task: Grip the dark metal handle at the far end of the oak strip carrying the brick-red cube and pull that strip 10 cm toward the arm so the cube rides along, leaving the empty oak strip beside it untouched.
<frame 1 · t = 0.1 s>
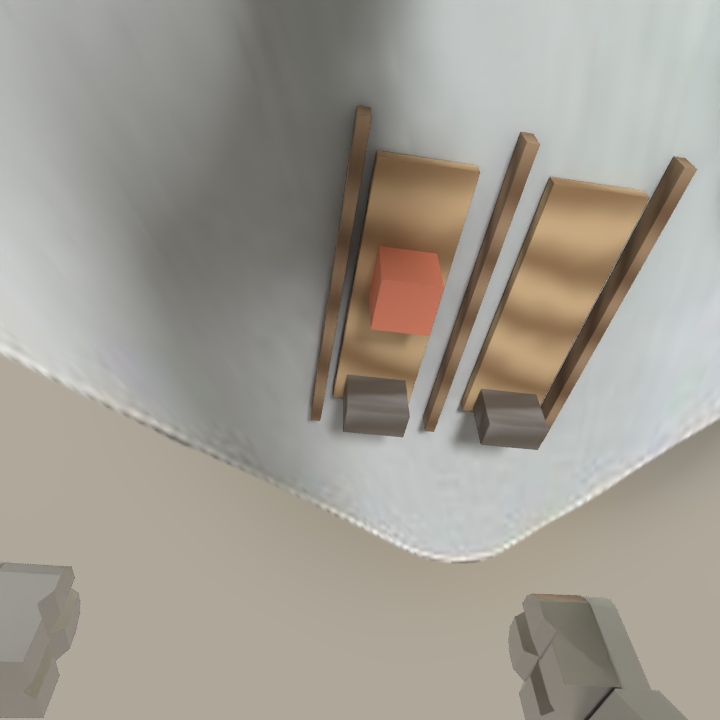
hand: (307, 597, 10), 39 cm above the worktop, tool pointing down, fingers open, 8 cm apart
strip a: (396, 314, 51), point 3 cm above the worktop, slide at 0.0 cm, touching cube
strip b: (547, 332, 53), point 3 cm above the worktop, slide at 0.0 cm
lane rails: (467, 302, 54), on the worktop
cube: (402, 274, 50), point 1 cm above the worktop, touching strip a
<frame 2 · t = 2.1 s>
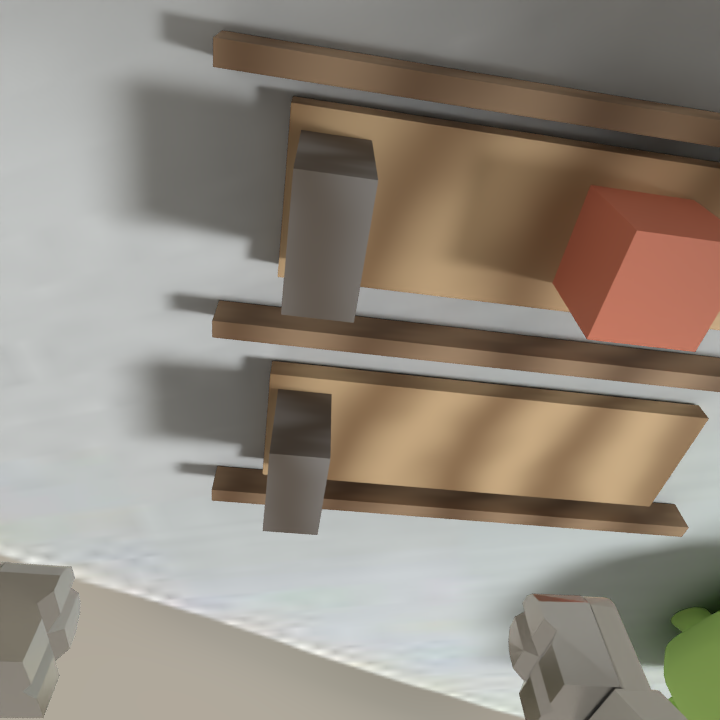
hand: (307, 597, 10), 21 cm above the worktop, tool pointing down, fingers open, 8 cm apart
strip a: (573, 252, 26), point 3 cm above the worktop, slide at 0.0 cm, touching cube
strip b: (486, 470, 34), point 3 cm above the worktop, slide at 0.0 cm
lane rails: (509, 341, 32), on the worktop
cube: (620, 243, 28), point 1 cm above the worktop, touching strip a
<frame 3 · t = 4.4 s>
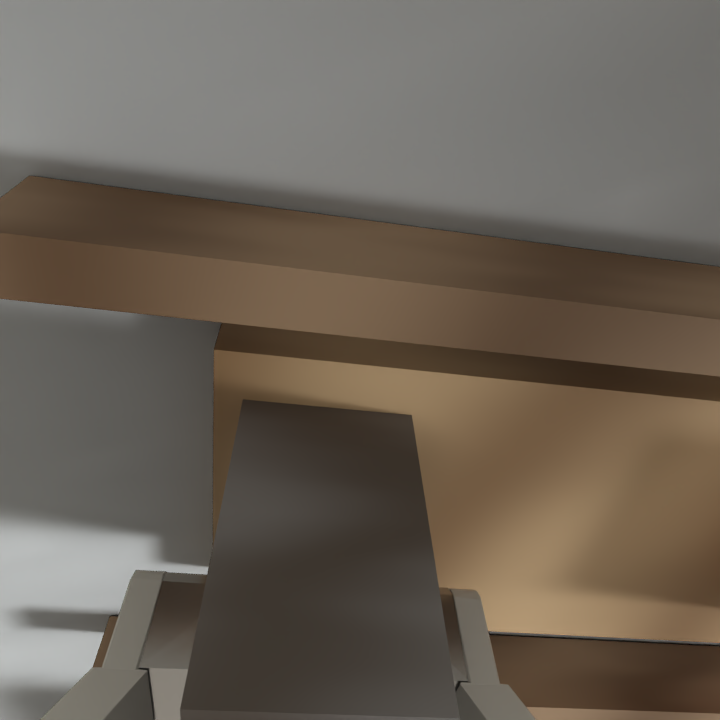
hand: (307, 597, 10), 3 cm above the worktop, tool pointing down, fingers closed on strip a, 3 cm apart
lane rails: (635, 650, 18), on the worktop
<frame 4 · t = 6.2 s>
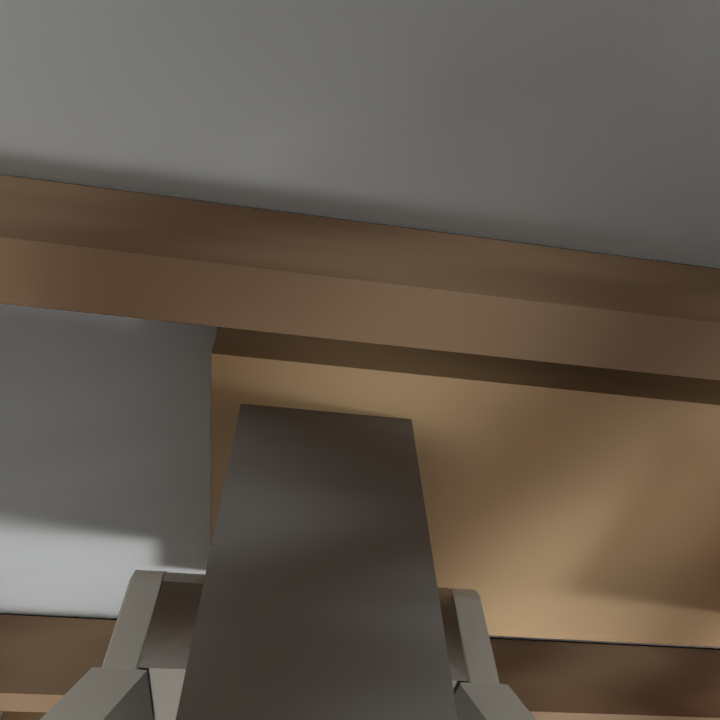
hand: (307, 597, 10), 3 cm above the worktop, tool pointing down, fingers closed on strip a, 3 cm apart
lane rails: (452, 645, 18), on the worktop
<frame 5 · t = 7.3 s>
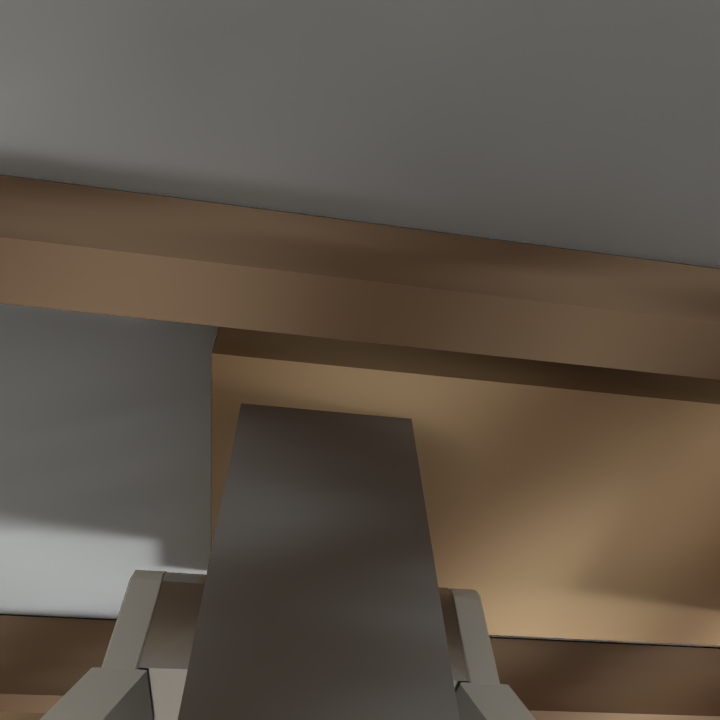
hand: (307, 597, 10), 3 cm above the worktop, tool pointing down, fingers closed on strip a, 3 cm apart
lane rails: (318, 639, 17), on the worktop
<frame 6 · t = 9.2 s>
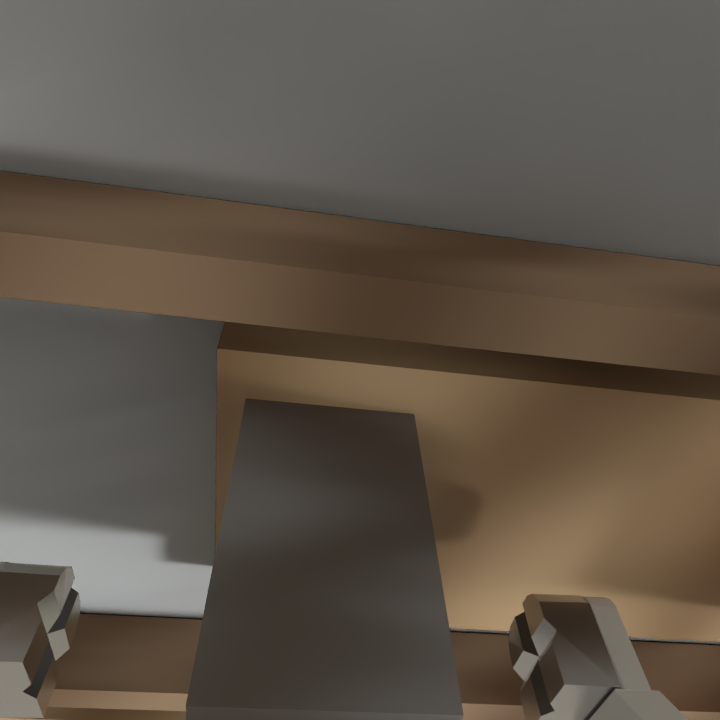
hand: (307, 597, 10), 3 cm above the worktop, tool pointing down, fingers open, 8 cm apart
lane rails: (320, 634, 17), on the worktop
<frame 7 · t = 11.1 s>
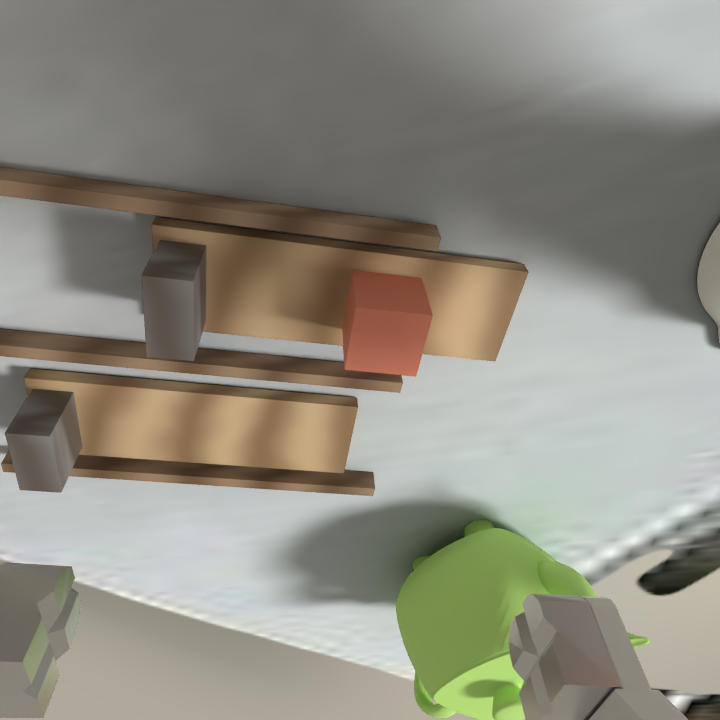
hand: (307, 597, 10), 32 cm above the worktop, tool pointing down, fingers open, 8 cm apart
strip a: (341, 313, 40), point 3 cm above the worktop, slide at 10.1 cm, touching cube
strip b: (193, 445, 47), point 3 cm above the worktop, slide at 0.0 cm
lane rails: (200, 353, 46), on the worktop
teapot: (501, 561, 65), on the worktop
cube: (381, 304, 42), point 1 cm above the worktop, touching strip a
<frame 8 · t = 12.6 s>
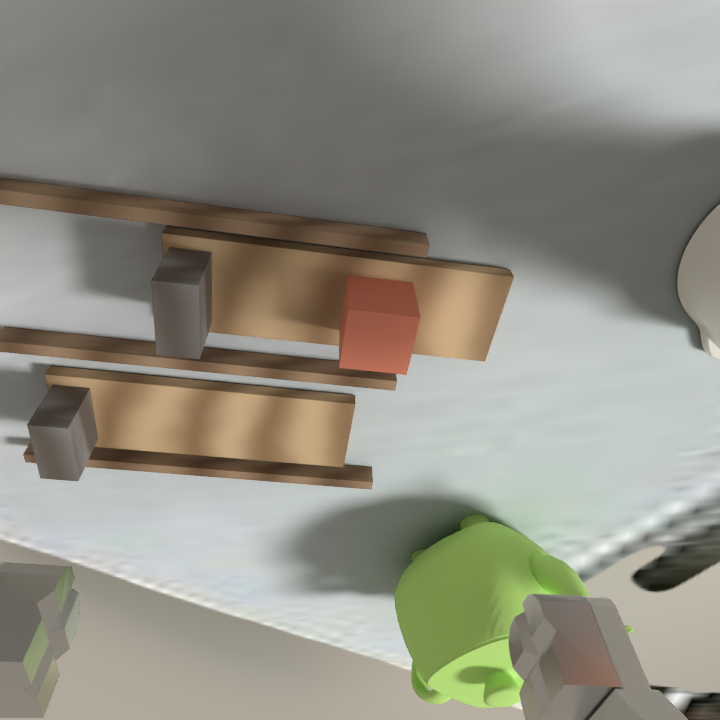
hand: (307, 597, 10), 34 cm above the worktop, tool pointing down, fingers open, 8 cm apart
strip a: (336, 315, 43), point 3 cm above the worktop, slide at 10.1 cm, touching cube
strip b: (200, 439, 50), point 3 cm above the worktop, slide at 0.0 cm
lane rails: (207, 352, 49), on the worktop
teapot: (498, 555, 67), on the worktop
cube: (375, 307, 45), point 1 cm above the worktop, touching strip a
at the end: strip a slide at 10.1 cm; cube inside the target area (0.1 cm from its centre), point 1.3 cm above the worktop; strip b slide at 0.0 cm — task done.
